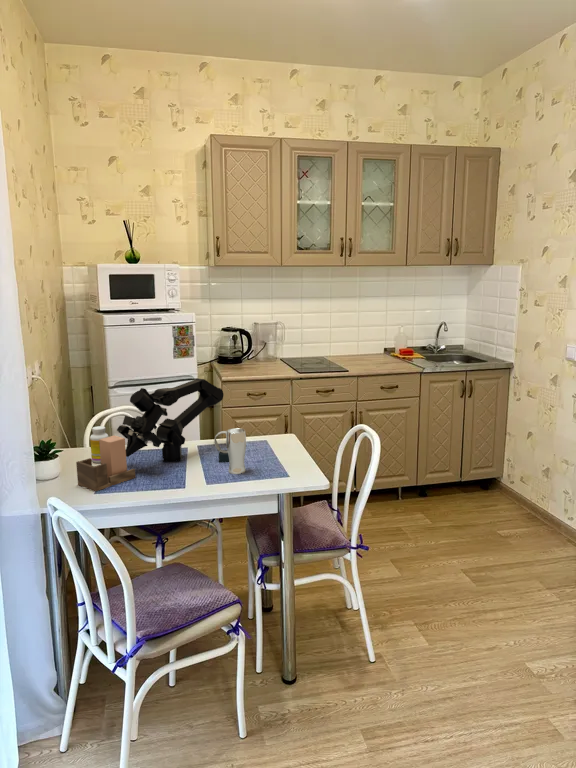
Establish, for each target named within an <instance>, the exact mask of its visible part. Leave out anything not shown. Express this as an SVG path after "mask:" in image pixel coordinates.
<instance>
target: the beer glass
mask: <svg viewBox="0 0 576 768" xmlns="http://www.w3.org/2000/svg"><path fill="white" fill-rule="evenodd" d="M226 431H227V434H225V436H226V439H225V445H226V450H227V452H228V456H229V462H228V474H231V475H241V473H242V474H245V473H246V471H247V470H246V465H245V457H246V450H247V436H246V429H244V428H241V427H240V428H239V427H236V428H235V427H234V428H229V429H227V430H226Z"/></svg>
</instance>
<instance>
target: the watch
mask: <svg viewBox="0 0 576 768" xmlns="http://www.w3.org/2000/svg"><path fill="white" fill-rule="evenodd" d="M222 434H225V435H226V434H227V430H221V431H219V432H217V434H215V436H214V441H213V444H214V446H215V448H216V450H217V451H218V463H229V456H228V452H227V449H222V448H221V446H219V445H220V444H219V443H218V441H217V437H218V436H220V435H222Z"/></svg>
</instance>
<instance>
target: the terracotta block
mask: <svg viewBox="0 0 576 768" xmlns="http://www.w3.org/2000/svg"><path fill="white" fill-rule="evenodd" d="M99 443H100V456H101V463H100V464H104V463H106V464H107V475H108V478H109V476H112V475H115V474H118V473H121V472H124V471H128V466H127V465H128V464H127V457H126V438H125V437H122V436H117V435H111V436H109V437H107V438H103V439H99Z"/></svg>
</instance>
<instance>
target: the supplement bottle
mask: <svg viewBox="0 0 576 768" xmlns="http://www.w3.org/2000/svg"><path fill="white" fill-rule="evenodd" d="M91 431H92V434H91V435H90V437H89V442H90V443H89V444H90V455H91V459H92V462H93V463H95V464H101V456H100V443H99V439H103V438H107V437H110V436H109V434H108V433H106V426H100V425H99V426H93V427H92V429H91Z"/></svg>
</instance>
